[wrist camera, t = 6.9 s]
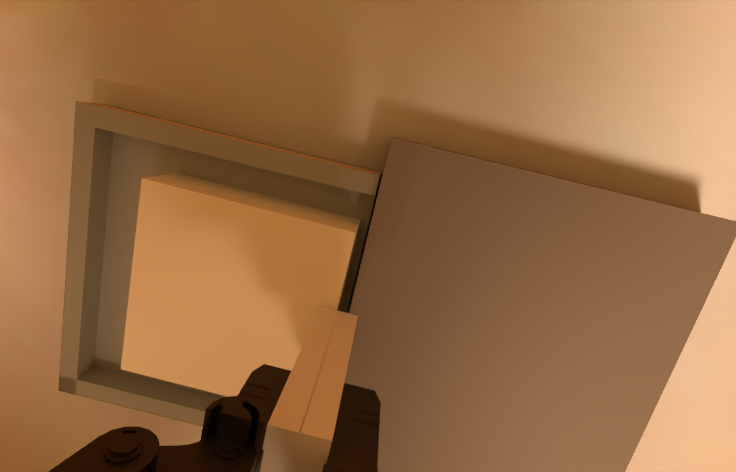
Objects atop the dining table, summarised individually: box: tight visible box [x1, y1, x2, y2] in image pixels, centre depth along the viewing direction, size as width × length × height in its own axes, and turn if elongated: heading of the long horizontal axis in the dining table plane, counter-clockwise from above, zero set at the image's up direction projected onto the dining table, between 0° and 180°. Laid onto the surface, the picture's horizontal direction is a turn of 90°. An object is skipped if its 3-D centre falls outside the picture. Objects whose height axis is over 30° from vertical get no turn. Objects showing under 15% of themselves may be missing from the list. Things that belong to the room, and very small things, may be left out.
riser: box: [344, 137, 736, 472], centre depth 18 cm, size 16×13×2 cm
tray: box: [59, 101, 381, 426], centre depth 18 cm, size 13×12×2 cm
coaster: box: [121, 173, 361, 397], centre depth 17 cm, size 8×8×2 cm
